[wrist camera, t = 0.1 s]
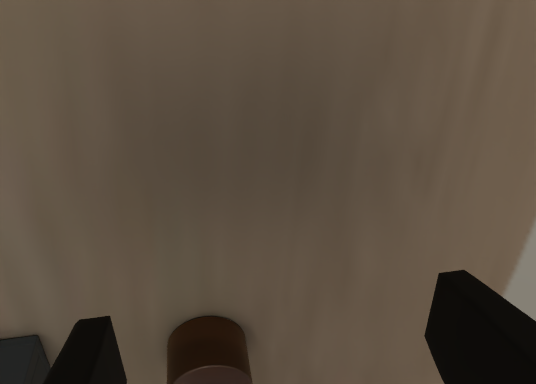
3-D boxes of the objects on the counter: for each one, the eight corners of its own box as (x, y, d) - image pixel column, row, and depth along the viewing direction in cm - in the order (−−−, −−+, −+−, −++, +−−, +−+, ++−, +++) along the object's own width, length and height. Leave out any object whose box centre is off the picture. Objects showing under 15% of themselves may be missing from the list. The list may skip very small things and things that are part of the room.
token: (246, 363, 27) (254, 413, 24) (172, 374, 26) (172, 426, 24) (243, 311, 24) (251, 359, 22) (162, 321, 24) (161, 373, 21)
